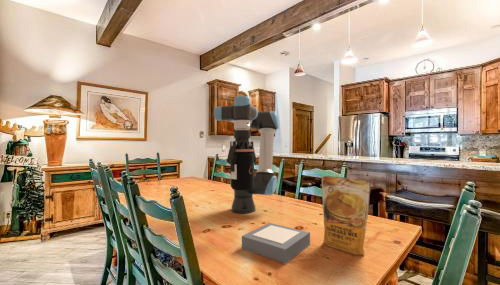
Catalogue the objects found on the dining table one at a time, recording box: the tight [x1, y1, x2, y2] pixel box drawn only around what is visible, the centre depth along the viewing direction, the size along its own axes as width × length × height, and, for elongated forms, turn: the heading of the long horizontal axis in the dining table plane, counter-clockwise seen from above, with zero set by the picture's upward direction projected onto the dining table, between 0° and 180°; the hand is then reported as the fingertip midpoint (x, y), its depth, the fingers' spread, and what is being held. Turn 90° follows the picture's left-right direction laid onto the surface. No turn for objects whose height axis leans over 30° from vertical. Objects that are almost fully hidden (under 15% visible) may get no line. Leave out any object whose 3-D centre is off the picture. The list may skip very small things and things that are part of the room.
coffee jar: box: [230, 148, 255, 191], centre depth 110 cm, size 11×11×18 cm
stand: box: [241, 222, 311, 265], centre depth 96 cm, size 20×20×5 cm
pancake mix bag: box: [320, 175, 372, 256], centre depth 95 cm, size 7×19×28 cm, turn 45°
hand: (242, 177), depth 109 cm, fingers closed on coffee jar, 11 cm apart
